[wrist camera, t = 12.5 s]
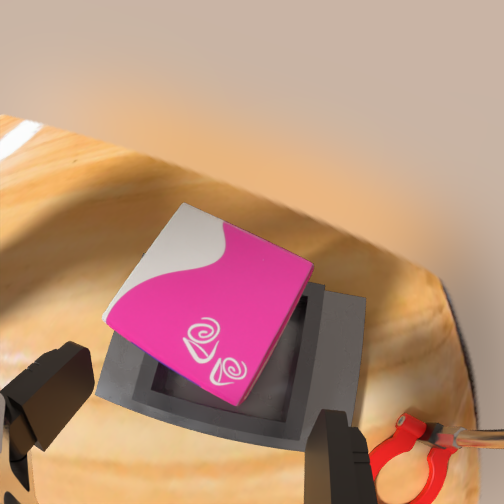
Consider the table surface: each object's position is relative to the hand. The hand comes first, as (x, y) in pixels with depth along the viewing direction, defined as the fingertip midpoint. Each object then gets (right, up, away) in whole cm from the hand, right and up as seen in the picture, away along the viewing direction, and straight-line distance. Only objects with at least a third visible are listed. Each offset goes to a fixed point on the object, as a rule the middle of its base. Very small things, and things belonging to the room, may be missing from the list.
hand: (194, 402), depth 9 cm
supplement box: (0, -2, +11) cm, 12 cm away
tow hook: (+14, -13, +8) cm, 20 cm away
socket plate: (+1, -3, +12) cm, 13 cm away
